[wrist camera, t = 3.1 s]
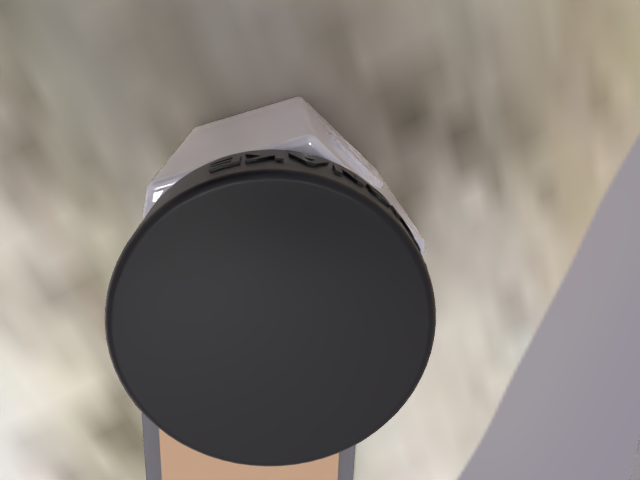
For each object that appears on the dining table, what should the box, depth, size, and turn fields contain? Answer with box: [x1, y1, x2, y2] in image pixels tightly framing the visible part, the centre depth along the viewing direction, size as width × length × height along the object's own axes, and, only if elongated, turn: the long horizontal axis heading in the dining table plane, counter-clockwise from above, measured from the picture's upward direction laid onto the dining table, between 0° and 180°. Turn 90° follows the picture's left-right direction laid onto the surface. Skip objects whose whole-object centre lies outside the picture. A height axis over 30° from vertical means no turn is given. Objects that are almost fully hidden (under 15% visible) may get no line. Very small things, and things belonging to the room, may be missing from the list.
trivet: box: [142, 413, 355, 480], centre depth 30 cm, size 10×10×1 cm
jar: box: [105, 97, 436, 467], centre depth 21 cm, size 9×8×12 cm
